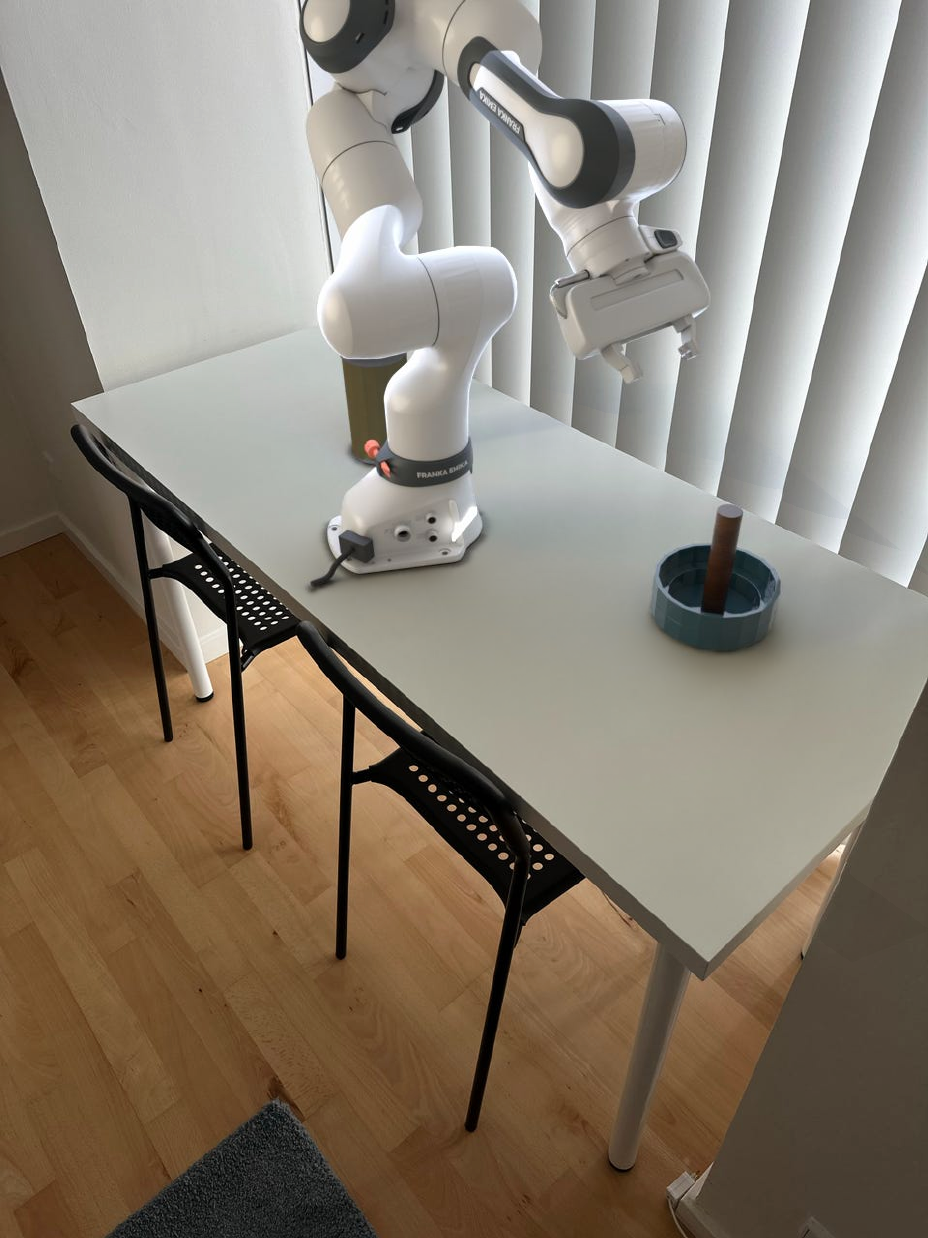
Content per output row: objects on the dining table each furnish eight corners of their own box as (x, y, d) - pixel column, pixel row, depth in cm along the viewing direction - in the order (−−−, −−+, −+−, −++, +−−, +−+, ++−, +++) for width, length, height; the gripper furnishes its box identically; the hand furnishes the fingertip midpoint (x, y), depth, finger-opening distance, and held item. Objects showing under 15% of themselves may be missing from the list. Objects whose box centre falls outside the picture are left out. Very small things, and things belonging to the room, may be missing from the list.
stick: (708, 619, 119) (726, 520, 110) (696, 605, 122) (712, 507, 112) (729, 613, 120) (748, 514, 111) (716, 599, 122) (733, 501, 113)
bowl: (690, 668, 114) (696, 630, 110) (629, 596, 125) (632, 559, 121) (796, 636, 118) (806, 598, 114) (728, 568, 129) (735, 532, 125)
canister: (406, 467, 152) (397, 348, 139) (344, 463, 153) (329, 345, 141) (420, 434, 160) (413, 319, 147) (361, 430, 162) (348, 316, 149)
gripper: (557, 268, 103) (613, 383, 103) (689, 227, 112) (740, 332, 112) (530, 297, 108) (584, 406, 108) (657, 255, 117) (707, 356, 117)
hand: (664, 368), depth 110 cm, fingers open, 8 cm apart
